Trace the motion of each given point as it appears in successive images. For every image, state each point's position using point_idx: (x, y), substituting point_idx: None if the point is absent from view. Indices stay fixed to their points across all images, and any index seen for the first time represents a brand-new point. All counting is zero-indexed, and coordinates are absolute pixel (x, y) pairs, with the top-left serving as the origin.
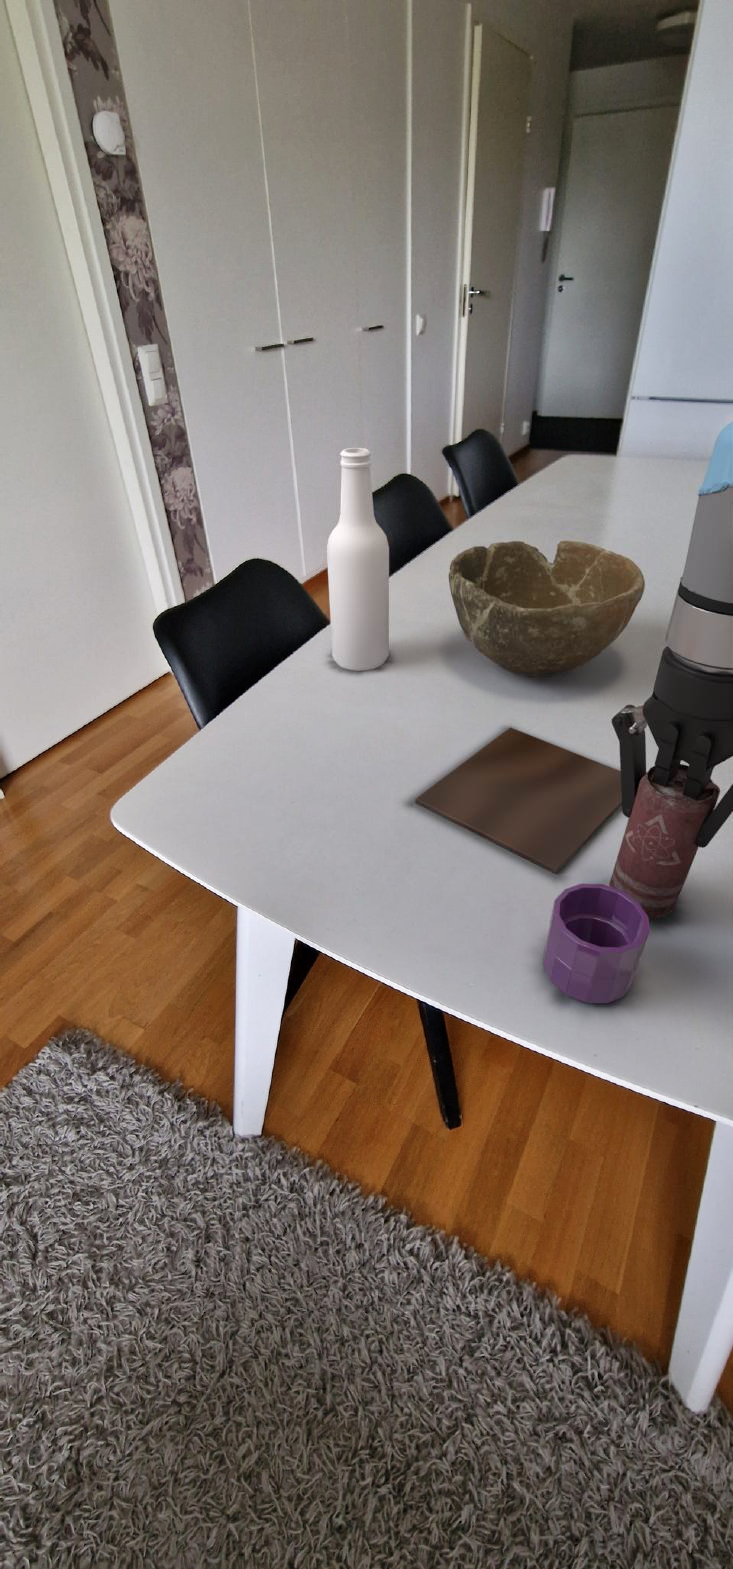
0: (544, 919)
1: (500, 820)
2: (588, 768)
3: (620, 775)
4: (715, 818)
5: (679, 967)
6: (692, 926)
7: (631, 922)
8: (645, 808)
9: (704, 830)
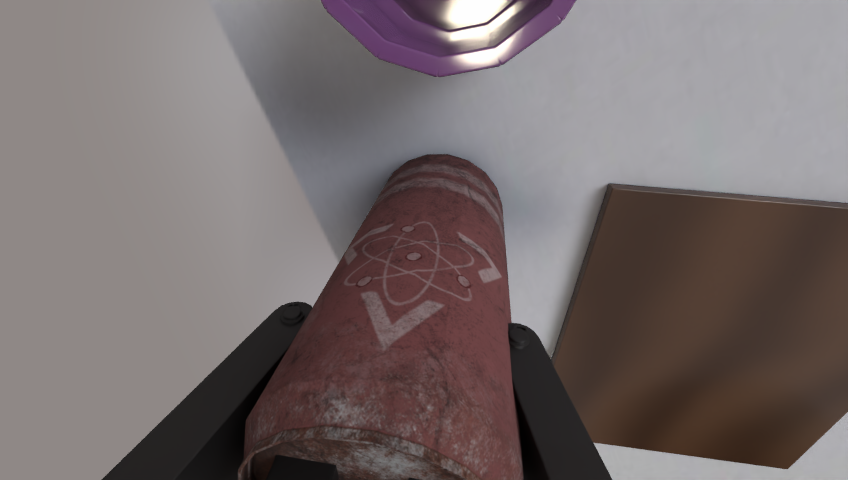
0: (597, 39)
1: (773, 258)
2: (619, 429)
3: None
4: (218, 399)
5: (322, 91)
6: (349, 197)
7: (385, 24)
8: (455, 357)
9: (272, 348)
